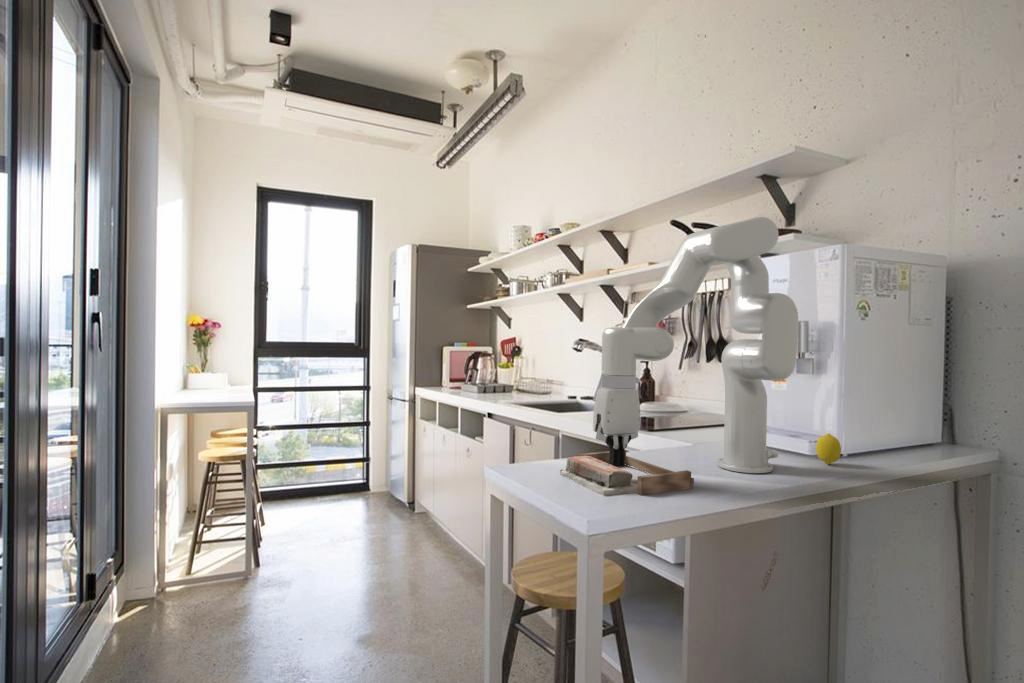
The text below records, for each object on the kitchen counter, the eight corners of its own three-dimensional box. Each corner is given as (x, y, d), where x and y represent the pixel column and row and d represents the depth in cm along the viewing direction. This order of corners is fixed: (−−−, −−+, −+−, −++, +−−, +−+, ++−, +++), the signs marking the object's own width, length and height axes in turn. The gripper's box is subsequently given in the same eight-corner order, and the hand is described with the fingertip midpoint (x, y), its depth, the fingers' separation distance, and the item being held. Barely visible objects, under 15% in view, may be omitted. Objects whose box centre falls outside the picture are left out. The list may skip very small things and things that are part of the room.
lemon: (840, 468, 132) (841, 436, 132) (815, 465, 135) (815, 434, 135) (840, 464, 137) (841, 433, 137) (815, 461, 140) (816, 431, 140)
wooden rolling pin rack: (625, 463, 134) (625, 449, 134) (693, 487, 113) (694, 471, 113) (578, 468, 128) (578, 454, 128) (641, 495, 107) (641, 477, 107)
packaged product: (558, 455, 122) (594, 452, 126) (558, 476, 122) (594, 473, 126) (604, 474, 106) (644, 470, 110) (603, 498, 106) (643, 493, 110)
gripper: (634, 381, 125) (632, 459, 125) (580, 382, 118) (579, 464, 118) (656, 383, 118) (654, 466, 118) (600, 385, 112) (598, 472, 112)
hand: (616, 465), depth 118 cm, fingers closed
